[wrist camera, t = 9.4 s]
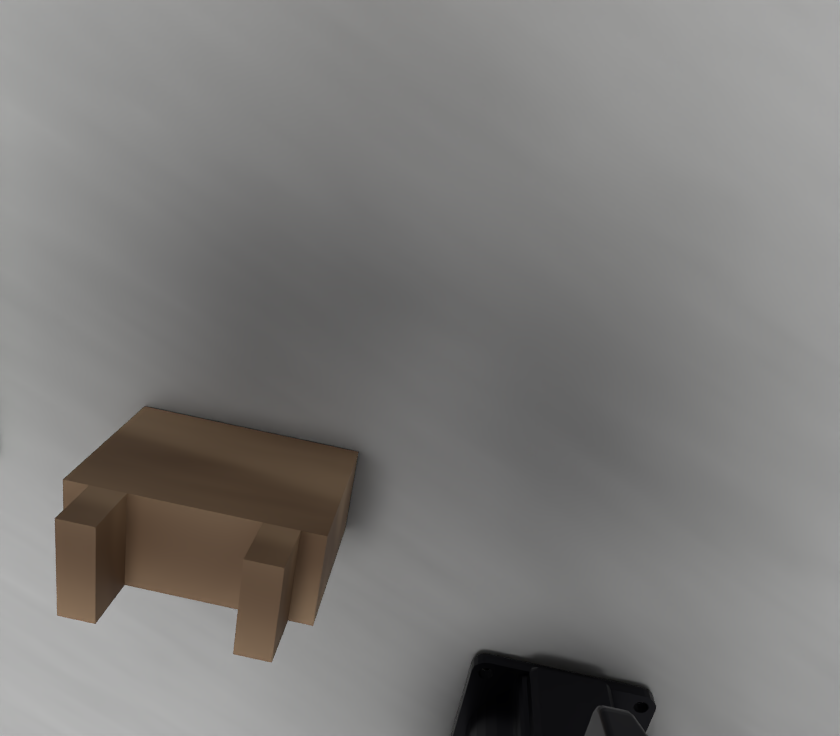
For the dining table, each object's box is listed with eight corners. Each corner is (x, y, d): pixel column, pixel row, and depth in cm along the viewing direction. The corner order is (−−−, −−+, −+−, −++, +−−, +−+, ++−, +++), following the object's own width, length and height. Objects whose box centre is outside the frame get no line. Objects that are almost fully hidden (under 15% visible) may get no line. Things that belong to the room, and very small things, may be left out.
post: (345, 529, 23) (298, 668, 17) (141, 485, 23) (30, 609, 17) (358, 451, 22) (313, 573, 16) (144, 406, 22) (26, 512, 16)
